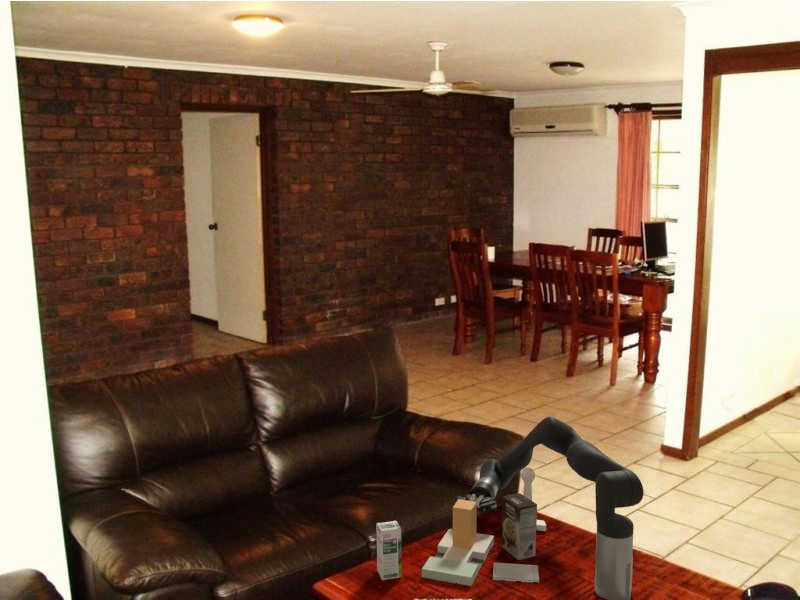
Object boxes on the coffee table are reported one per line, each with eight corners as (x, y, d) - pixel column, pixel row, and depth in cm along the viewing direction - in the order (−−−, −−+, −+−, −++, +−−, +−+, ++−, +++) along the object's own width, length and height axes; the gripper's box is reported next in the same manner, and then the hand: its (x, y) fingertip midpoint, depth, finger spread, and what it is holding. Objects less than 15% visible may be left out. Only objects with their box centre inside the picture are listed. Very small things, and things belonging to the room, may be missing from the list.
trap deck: (493, 543, 233) (493, 535, 232) (471, 586, 209) (471, 577, 208) (449, 536, 238) (449, 528, 237) (421, 577, 213) (421, 568, 213)
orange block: (476, 540, 230) (476, 501, 228) (471, 549, 224) (471, 509, 222) (458, 537, 232) (458, 499, 230) (452, 546, 226) (452, 507, 224)
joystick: (543, 525, 244) (544, 465, 241) (548, 536, 237) (549, 474, 234) (508, 526, 244) (509, 465, 241) (511, 537, 237) (512, 474, 234)
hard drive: (492, 576, 212) (539, 579, 210) (493, 561, 220) (537, 564, 218) (492, 582, 212) (538, 584, 210) (493, 567, 220) (537, 569, 218)
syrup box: (381, 581, 212) (381, 531, 209) (376, 570, 217) (376, 521, 215) (402, 578, 213) (401, 528, 211) (396, 567, 219) (396, 519, 216)
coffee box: (500, 547, 230) (501, 495, 228) (519, 543, 233) (520, 492, 231) (517, 561, 222) (518, 507, 220) (536, 556, 225) (537, 503, 222)
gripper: (463, 478, 249) (447, 499, 233) (504, 483, 244) (491, 505, 228) (463, 500, 250) (447, 523, 234) (503, 506, 246) (490, 529, 229)
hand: (469, 514), depth 231 cm, fingers closed
